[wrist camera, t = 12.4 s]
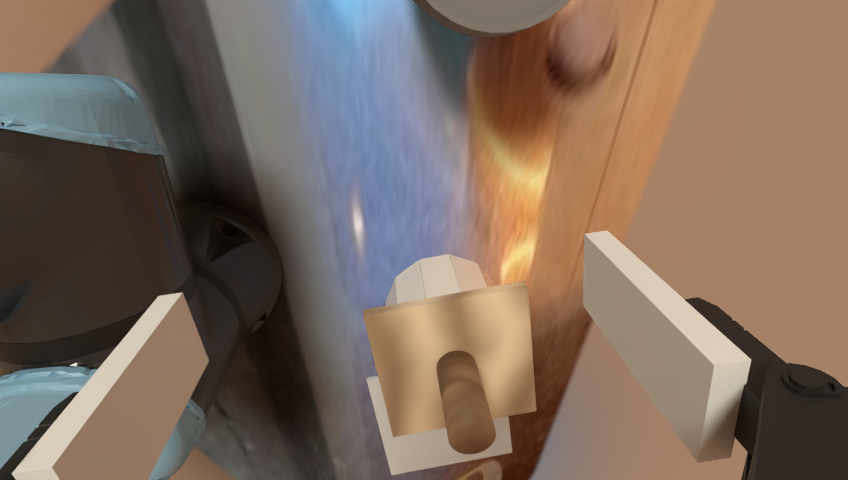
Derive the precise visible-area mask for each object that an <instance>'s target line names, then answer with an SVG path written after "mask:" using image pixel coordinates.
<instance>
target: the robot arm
mask: <svg viewBox="0 0 848 480" xmlns="http://www.w3.org/2000/svg"><path fill="white" fill-rule="evenodd" d="M164 155H166V154H165V150H164V149H163V147H161V146H160V145H159V143H158V140H157V138H156V135H155V132H154V129H153V126H152V123H151V120H150V117H149V114H148V111H147V108H146V105H145V102H144V100H143V98H142V97H141V95H140V94H139V93H138V92H137V90H135V89H134V88H133V87H132V86H131V85H129V84H128V83H126V82H124V81H123V80H121V79H118V78H115V77H112V76H104V75H79V74H46V73H7V72H6V73H5V72H0V480H168V479H169V478H170V477H171V476H172V475H174V474H175V472H176V471H178V470H179V469H180V468H181V466H182V465H183V463H184V462H185V461H186V459H187V457H188V455H189V454H190V452H191V450H192V449H193V447H194V445H195V444H196V442H197V440H198V439H199V438H200V437H201V435H202V434H203V431H204V429H205V427H206V426H205V424H206V419H207V416H208V414H209V412H210V409H211V407H212V405H213V402H214V400H215V398H216V395H217V393H218V391H219V388H220V386H221V384H222V382H223V379H224V377H225V375H226V372H227V370H228V368H229V365H230V363H231V361H232V358H233V356H234V354H235V351H236V349H237V347H238V344H240V343H241V342H242V341H243V340H245V339H246V338H247V337H248V336H250V335H251V334H252V333H253V332H254V331H256V330H257V329H258V328H259V327H260V326H261V325H262V324H263V323H264V322H265V321H266V320H267V318H268V317H269V316H270V314H271V313H272V311H273V309H274V307H275V305H276V302H277V299H278V297H279V294H280V291H281V287H282V279H283V273H282V265H281V261H280V257H279V255H278V252H277V250H276V248H275V246H274V244H273V243H272V241H271V239H270V238H269V237H268V235H267V234H266V233H265V232H264V231H263V230H262V229H261V228H260V227H259V226H258V225H257V224H256V223H255V222H254V221H252V220H251V219H250V218H248V217H247V216H245V215H244V214H242V213H240V212H238V211H236V210H234V209H232V208H229V207H227V206H224V205H221V204H217V203H213V202H208V201H198V200H189V201H179V202H175V198H174V194H173V190H172V187H171V183H170V179H169V176H168V172H167V168H166V164H165V161H164V157H163V156H164ZM583 306H584V307H585V309H586V310H587V312H588V313H589V314H590V316H591V317H592V318H593V320H594V321H595V323H596V324H597V325H598V327H599V328H600V329H601V331H602V332H603V334H604V335H605V336H606V338H607V339H608V340H609V342H610V343H611V345H612V346H613V347H614V349H615V350H616V351H617V353H618V354H619V355H620V357H621V358H622V359H623V361H624V362H625V364H626V365H627V366H628V368H629V369H630V371H631V372H632V373H633V375H634V376H635V377H636V379H637V380H638V382H639V383H640V384H641V386H642V387H643V388H644V390H645V391H646V393H647V394H648V395H649V397H650V398H651V399H652V401H653V402H654V404H655V405H656V406H657V408H658V409H659V410H660V412H661V413H662V414H663V416H664V417H665V419H666V420H667V421H668V423H669V424H670V425H671V427H672V428H673V430H674V431H675V432H676V434H677V435H678V436H679V438H680V439H681V441H682V442H683V443H684V445H685V446H686V447H687V449H688V450H689V451H690V453H691V454H692V456H693V457H694V458H695V460H696V461H697V462H698V463H699V462H705V461H711V460H717V459H724V458H730V457H731V454H732V448H733V444H734V440H735V438H736V439H737V440H738V441H739V442H740V443H741V445H742V446H743V447H744V448H745V449H746V450H747V452H748V453H747V458H746V462H745V466H744V471H743V475H742V480H848V387H844V386H842V385H841V384H840V383H839V382H838V381H837V380H836V379H834V378H833V377H831V376H830V375H828V374H826V373H824V372H822V371H820V370H817V369H815V368H812V367H808V366H805V365H799V364H792V363H788V364H787V363H785V362H784V361H783V360H782V359H781V358H779V357H778V356H777V355H776V354H775V353H773V352H772V351H771V350H770V349H768V348H767V347H766V346H765V345H764V344H762V343H761V342H760V341H759V340H758V339H756V338H755V337H754V336H753V335H752V334H750V333H749V332H748V331H747V330H746V331H744V329H743V327H742V326H741V325H739V324H738V323H737V322H736V321H733V320H732V318H731V317H730V316H729V315H727V314H726V313H725V312H724V311H723V310H721V309H720V308H719V307H718V306H716V305H713V304H711V303H709V302H707V301H705V300H703V299H700V298H691V299H683V298H682V297H681V296H680V295H679V294H678V293H676V292H675V291H674V290H673V289H672V288H671V287H670V286H669V285H667V284H666V283H665V282H664V281H663V280H662V279H661V278H660V277H659V276H657V275H656V274H655V273H654V272H653V271H652V270H651V269H649V267H647V266H646V265H645V264H644V263H643V262H642V261H641V260H639V259H638V258H637V257H636V256H635V255H634V254H633V253H632V252H631V251H629V250H628V249H627V248H626V247H625V246H624V245H623V244H622V243H621V242H619V241H618V240H617V239H616V238H615V237H614V236H613V235H612V234H611V233H609V232H608V231H602V232H595V233H588V234H584V275H583Z"/></svg>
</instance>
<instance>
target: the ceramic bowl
mask: <svg viewBox="0 0 848 480" xmlns="http://www.w3.org/2000/svg"><path fill="white" fill-rule="evenodd" d="M493 286H495V284H494V282H493V281H492V280H491V279H490V277H489V276H488V275H487V274H486V273H485V272H484V270H483V269H482V268H481V267H480V266H479V265H478V264H477V263H476V262H473V261H469V260H466V259H463V258H460V257H457V256H454V255H451V254H450V255H449V254H447V255H441V256H436V257H430V258H424V259H420V261H419V260H418V261H416V262H415V263H414V264H412V265H411V266H410V267H408V268H407V269H406V270H405V271H403V272H402V273H401V274H399V275H398V276H397V277H396V278H395V280H394V282H393V285H392V287H391V290H390V292H389V295H388V297H387V299H386V305H392V304H398V303H403V302H409V301H414V300H420V299H426V298H431V297H437V296H442V295H448V294H454V293H459V292H465V291H470V290H476V289H482V288H487V287H493Z"/></svg>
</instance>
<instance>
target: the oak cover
mask: <svg viewBox="0 0 848 480" xmlns="http://www.w3.org/2000/svg"><path fill="white" fill-rule="evenodd" d="M363 317H364V321H365V325H366V329H367V333H368V337H369V341H370V345H371V349H372V353H373V357H374V361H375V366H376V370H377V374H378V378H379V382H380V386H381V390H382V394H383V398H384V402H385V406H386V410H387V414H388V419H389V423H390V427H391V431H392V435H393V437H398V436H403V435H409V434H414V433H420V432H425V431H431V430H436V429H441V428H446V430H447V435H448V441H449V444H450V446H451V447H452V448H453V449H454V450H455V451H457V452H459V453H462V454H477V453H480V452H482V451H484V450H486V449H488V448H489V447H490V446H491V445H492V444H493V442H494V440H495V438H496V430H495V427H494V423H493V420H492V419H496V418H501V417H507V416H512V415H517V414H523V413H528V412H534V411H536V397H535V383H534V368H533V354H532V339H531V325H530V310H529V296H528V286H527V284H526V283H525V281H521V282H515V283H510V284H504V285H498V286H493V287H487V288H482V289H476V290H470V291H465V292H459V293H454V294H448V295H442V296H437V297H431V298H426V299H420V300H414V301H409V302H403V303H398V304H392V305H386V306H381V307H375V308H370V309H364V313H363Z"/></svg>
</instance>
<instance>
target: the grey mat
mask: <svg viewBox="0 0 848 480" xmlns="http://www.w3.org/2000/svg"><path fill="white" fill-rule="evenodd" d="M367 383H368V387H369V390H370V394H371V398H372V402H373V406H374V410H375V414H376V417H377V421H378V425H379V429H380V433H381V437H382V440H383V444H384V448H385V452H386V456H387V460H388V464H389V467H390V471H391V475H395V474H400V473H406V472H411V471H416V470H422V469H427V468H432V467H438V466H443V465H449V464H454V463H459V462H465V461H470V460H476V459H481V458H486V457H492V456H497V455H502V454H508V453H512V445H511V435H510V426H509V416H507V417H501V418H496V419H492V420H493V423H494V427H495V430H496V438H495V440H494V442H493V444H492V445H491V446H490V447H489V448H488V449H486V450H484V451H482V452H480V453H477V454H462V453H459V452H457V451H455V450H454V449H453V448H452V447H451V446H450V444H449V441H448V435H447V430H446V428H441V429H436V430H431V431H425V432H420V433H414V434H409V435H403V436H398V437H393V435H392V431H391V427H390V423H389V419H388V414H387V410H386V406H385V402H384V398H383V394H382V390H381V386H380V382H379V378H378V376H373V377H367Z"/></svg>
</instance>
